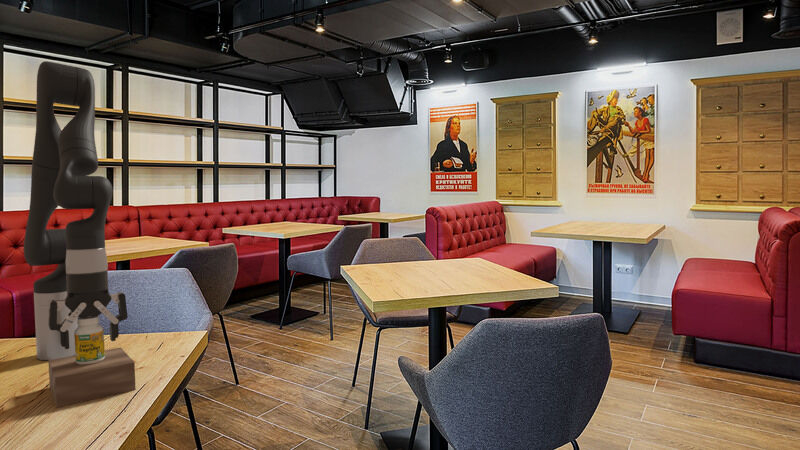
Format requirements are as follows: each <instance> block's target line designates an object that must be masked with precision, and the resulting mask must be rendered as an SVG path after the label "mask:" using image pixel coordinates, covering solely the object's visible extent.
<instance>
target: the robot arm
mask: <svg viewBox="0 0 800 450" xmlns="http://www.w3.org/2000/svg"><path fill="white" fill-rule="evenodd" d="M95 94H96V88H95V80H94V77H93V74H92V73H91V71H89V70H88V69H86V68H84V67H83V68H82V67H79V66H73V65H68V64H62V63H59V62H52V61H46V60H45V61H44V60H43V61H42V62H41V63H40V64H39V66H38V69H37V74H36V106H35V107H36V108H35V109H36V114H35V115H36V116H35V117H36V119H35V120H36V122H35V124H36V125H35V136H34V137H35V138H34V143H33V144H34V146H33V152H32V153H33V154H32V161H31V162H32V164H31V174H30V175H31V177H30V178H31V180H30V198H29V199H30V200H29V209H28V217H27V221H26V228H25V233H24V240H23V257H24V260H25V262H26V263H27V265H29V266H34V267H41V266H51V265H52V266H53V265H57V267H56V269H55V270H53V271H52V272H50V273H49V274H48V275H45V276H43V277H40V278H38V279H37V280H35V281H34V282H33V284H32V285H33V303H34V323H35V325H34V326H35V342H36V343H35V347H36V359H37V360H40V361H48V360H52V359H58V358H64V357H70V356H75V337H74V331H75V330H76V329H77V328H78V327H79V325H78V324H77V319H78V318H86V317H89V316H100V315H101V314H103V315H104V316H105V318H107V319H108V321H109V339H110V341H111V342H115V341H116V340H117V338H119V335H120V333H119V323H120V322H122V321H127V319H128V317H129V316H128V309H127V301H126V299H127V298H126V294H125V293H124V292H122V291H119V292H117V293H112V294H110V292H109V274H108V270H109V269H108V268H109V263H108V256H107V251H106V237H105V236H106V235H105V234H106V232H105V229H106V219H107V215H108V211H109V208H110V204H111V201H112V198H113V190H114V189H113V185H112V183H111V181H110V180H109V179H108V178H107V177H106V176H102V175H92V174H94V173H96V172H97V170H98V168H99V160H98V158H99V157H98V152H97V147H96V139H95V138H96V137H95V124H96V123H95V119H96V118H95V117H96V95H95ZM54 104H59V105H66V106H72V107H78V111H77V112H76V114H75V115H74V116H73V117H72V119H70V121H68V123H66V125H65V126H64V127H63V128H62V129H61V127H60V124H59V123H58V121H57V118H56V115H55V111H54ZM58 207H60V208H62V209H65V210H92V209H93V211H92V213H91V215H89V216H88V217H86V218H83V219H78V220H73V221H70V222H68V223H66V225H65V228H53V229H52V228H51V229H50V228H48V229H47V227H48V223H49V220H50V218H51V217H52V215H53V214H54V212H55V210H56V209H58ZM112 300H113V301H114V303H115V304H117V305H118V306H117V307H118V314H117V315H114V314H113V313H112V312H111V311H110V310H109V309H108V308H107V307H108V305H109V304H110V303H111V301H112Z"/></svg>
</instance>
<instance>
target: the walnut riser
mask: <svg viewBox="0 0 800 450" xmlns="http://www.w3.org/2000/svg"><path fill="white" fill-rule="evenodd" d="M47 361H48V377H49V378H48V380H49V389H50V393H51V395H52V396H53V400H54V403H55V406H56V408H62V407H66V406H70V405H74V404H78V402H79V403H83V401H84V402H86V401H87V400H88V401H91V400H97V399H102V398H105V397H110V396H114V395H117V394H123V393H128V392H132V391H136V390H137V389H136V370H135V369H136V368H135V361H134V360H133V359H132V358H131V357H130V356H129V355H128V353H127V352H126V351H125V350H124V349H123V348H122V347H117V348H116V347H115V348H110V349H105V358H104V360H102V361H100V362H97V363H94V364H87V365H80V364H77V363H76V355H73V356H70V357H64V358H58V359H52V360H47ZM88 401H87V402H88Z"/></svg>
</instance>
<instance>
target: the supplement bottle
mask: <svg viewBox="0 0 800 450" xmlns="http://www.w3.org/2000/svg"><path fill="white" fill-rule="evenodd" d="M99 323H100V315H98V316H89V317H86V318H80V317H78V319H77V324H78V328H77V329H76V330H75V331H74V337H75V355H76V363H77V364H80V365H87V364H94V363H97V362H100V361H102V360H104V358H105V350H106V349H105V332H104V327H103V326H102V325H101V324H99ZM75 355H74V356H75Z"/></svg>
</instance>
